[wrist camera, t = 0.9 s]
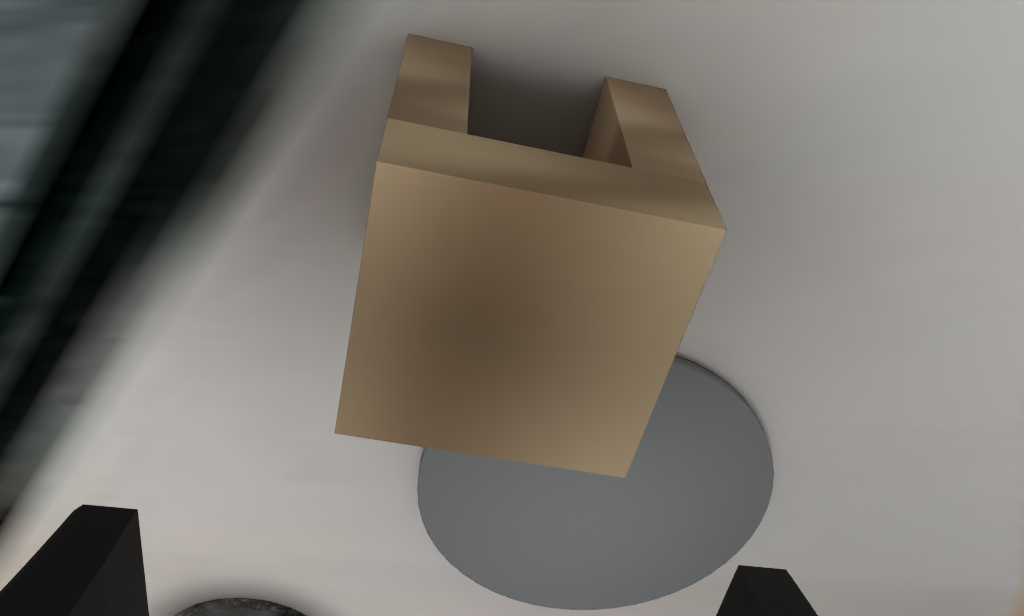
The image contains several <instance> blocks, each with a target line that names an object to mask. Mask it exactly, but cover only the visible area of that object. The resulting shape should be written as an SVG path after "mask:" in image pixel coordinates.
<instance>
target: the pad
mask: <svg viewBox="0 0 1024 616" xmlns="http://www.w3.org/2000/svg"><path fill="white" fill-rule="evenodd" d="M773 475H774V471H773V462H772V455H771V452H770V448H769V445H768V442H767V438H766V436H765V433H764V430H763V428H762V426H761V424H760V422H759V420H758V418H757V416H756V414H755V412H754V411H753V410H752V409H751V407H750V406H749V405H748V403H747V402H746V401H745V399H744V398H743V397H742V396H741V395H740V394H739V393H738V392H737V391H736V390H735V389H734V388H733V387H731V386H730V385H729V384H728V383H727V382H725V381H724V380H722V379H721V378H719V377H718V376H717V375H715V374H714V373H712V372H711V371H709V370H707V369H705V368H703V367H701V366H699V365H697V364H695V363H693V362H691V361H688V360H685V359H682V358H680V357H677V356H675V357H674V360H673V362H672V365H671V367H670V370H669V372H668V374H667V377H666V379H665V382H664V384H663V387H662V389H661V392H660V394H659V396H658V399H657V401H656V404H655V406H654V409H653V411H652V413H651V416H650V418H649V421H648V423H647V426H646V428H645V431H644V433H643V435H642V438H641V440H640V443H639V445H638V448H637V450H636V453H635V455H634V457H633V460H632V462H631V465H630V467H629V470H628V472H627V474H626V477H625V478H622V477H615V476H609V475H602V474H596V473H589V472H583V471H576V470H570V469H563V468H557V467H550V466H544V465H537V464H531V463H524V462H518V461H511V460H505V459H498V458H492V457H485V456H479V455H472V454H466V453H459V452H453V451H446V450H440V449H433V448H427V447H425V448H424V451H423V454H422V457H421V462H420V470H419V477H418V505H419V509H420V513H421V518H422V521H423V523H424V526H425V528H426V530H427V533H428V535H429V536H430V538H431V540H432V541H433V543H434V544H435V546H436V547H437V549H438V550H439V551H440V552H441V554H442V555H443V556H444V557H445V558H446V559H447V560H448V561H449V562H450V563H451V564H452V565H453V566H454V567H455V568H457V569H458V570H459V571H460V572H461V573H462V574H464V575H465V576H467V577H468V578H470V579H471V580H473V581H474V582H476V583H478V584H479V585H481V586H483V587H485V588H487V589H489V590H491V591H493V592H495V593H498V594H501V595H503V596H506V597H509V598H511V599H514V600H518V601H522V602H525V603H529V604H533V605H539V606H544V607H550V608H560V609H571V610H595V609H607V608H617V607H623V606H629V605H635V604H639V603H642V602H646V601H650V600H654V599H657V598H660V597H663V596H666V595H669V594H672V593H674V592H677V591H679V590H681V589H683V588H685V587H688V586H690V585H692V584H694V583H696V582H697V581H699V580H701V579H703V578H704V577H706V576H708V575H710V574H711V573H712V572H714V571H715V570H716V569H718V568H719V567H721V566H722V565H723V564H725V563H726V562H727V561H728V560H729V559H730V558H732V557H733V556H734V555H735V554H736V553H737V552H738V551H739V550H740V549H741V548H742V547H743V546H744V544H745V543H746V542H747V541H748V540H749V539H750V537H751V536H752V535H753V533H754V532H755V530H756V528H757V527H758V525H759V524H760V522H761V520H762V518H763V516H764V514H765V511H766V509H767V507H768V504H769V500H770V496H771V493H772V487H773Z"/></svg>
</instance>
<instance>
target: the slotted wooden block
mask: <svg viewBox="0 0 1024 616" xmlns="http://www.w3.org/2000/svg"><path fill="white" fill-rule="evenodd" d="M471 59H472V48H471V47H467V46H462V45H458V44H453V43H448V42H444V41H439V40H435V39H430V38H425V37H421V36H416V35H412V34H408V38H407V42H406V46H405V50H404V54H403V58H402V62H401V66H400V70H399V74H398V78H397V82H396V86H395V90H394V94H393V98H392V102H391V106H390V110H389V114H388V118H387V122H386V126H385V130H384V134H383V138H382V142H381V146H380V151H379V155H378V159H377V163H376V170H375V176H374V183H373V189H372V196H371V202H370V208H369V215H368V221H367V228H366V234H365V241H364V247H363V253H362V260H361V266H360V273H359V279H358V286H357V292H356V298H355V305H354V311H353V318H352V324H351V331H350V337H349V343H348V350H347V356H346V363H345V369H344V376H343V382H342V389H341V395H340V401H339V408H338V414H337V421H336V427H335V433H336V434H342V435H349V436H355V437H362V438H368V439H375V440H381V441H388V442H394V443H401V444H407V445H414V446H420V447H427V448H433V449H440V450H446V451H453V452H459V453H466V454H472V455H479V456H485V457H492V458H498V459H505V460H511V461H518V462H524V463H531V464H537V465H544V466H550V467H557V468H563V469H570V470H576V471H583V472H589V473H596V474H602V475H609V476H615V477H622V478H625V477H626V474H627V472H628V470H629V467H630V465H631V462H632V460H633V457H634V455H635V453H636V450H637V448H638V445H639V443H640V440H641V438H642V435H643V433H644V431H645V428H646V426H647V423H648V421H649V418H650V416H651V413H652V411H653V409H654V406H655V404H656V401H657V399H658V396H659V394H660V392H661V389H662V387H663V384H664V382H665V379H666V377H667V374H668V372H669V370H670V367H671V365H672V362H673V360H674V357H675V355H676V353H677V350H678V348H679V345H680V343H681V340H682V338H683V335H684V333H685V331H686V328H687V326H688V323H689V321H690V318H691V316H692V313H693V311H694V309H695V306H696V304H697V301H698V299H699V296H700V294H701V292H702V289H703V287H704V284H705V282H706V279H707V277H708V274H709V272H710V270H711V267H712V265H713V262H714V260H715V257H716V255H717V252H718V250H719V248H720V245H721V243H722V240H723V238H724V235H725V233H726V231H727V230H726V227H725V225H724V223H723V220H722V218H721V216H720V213H719V211H718V209H717V207H716V204H715V202H714V200H713V197H712V195H711V193H710V190H709V188H708V186H707V184H706V181H705V179H704V177H703V174H702V172H701V170H700V167H699V165H698V163H697V161H696V158H695V156H694V154H693V151H692V149H691V147H690V144H689V142H688V140H687V137H686V135H685V133H684V131H683V128H682V126H681V124H680V121H679V119H678V117H677V114H676V112H675V110H674V108H673V105H672V103H671V101H670V98H669V96H668V94H667V91H666V90H665V89H660V88H656V87H651V86H646V85H642V84H637V83H633V82H628V81H623V80H619V79H614V78H610V77H606V78H605V81H604V85H603V88H602V92H601V95H600V99H599V102H598V105H597V109H596V112H595V116H594V119H593V122H592V126H591V129H590V133H589V136H588V139H587V143H586V146H585V150H584V153H583V157H577V156H572V155H567V154H562V153H557V152H552V151H548V150H543V149H538V148H533V147H528V146H523V145H518V144H513V143H508V142H503V141H498V140H494V139H489V138H484V137H479V136H474V135H469V134H467V126H468V109H469V92H470V75H471Z"/></svg>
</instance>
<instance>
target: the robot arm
mask: <svg viewBox="0 0 1024 616" xmlns="http://www.w3.org/2000/svg"><path fill="white" fill-rule="evenodd" d="M0 616H149V611H148V602H147V593H146V584H145V574H144V565H143V556H142V547H141V537H140V528H139V519H138V510H137V509H127V508H116V507H105V506H94V505H82V506H80V507H78V508H77V509H75V510H74V511H73V512H72V513H71V514H70V516H69V517H68V518H67V519H66V520H65V521H64V522H63V523H62V525H61V526H60V527H59V528H58V529H57V530H56V531H55V532H54V534H53V535H52V536H51V537H50V538H49V539H48V540H47V541H46V543H45V544H44V545H43V546H42V547H41V548H40V549H39V550H38V551H37V552H36V554H35V555H34V556H33V557H32V558H31V559H30V560H29V561H28V562H27V563H26V565H25V566H24V567H23V568H22V569H21V570H20V571H19V572H18V573H17V574H16V575H15V576H14V578H13V579H12V580H11V581H10V582H9V583H8V584H7V585H6V586H5V587H4V588H3V589H2V590H1V591H0ZM716 616H818V615H817V614H816V612H815V611H814V609H813V608H812V606H811V605H810V603H809V602H808V600H807V599H806V598H805V596H804V595H803V593H802V592H801V590H800V589H799V587H798V586H797V584H796V583H795V582H794V580H793V579H792V577H791V576H790V575H789V573H788V572H787V570H784V569H774V568H763V567H752V566H741V565H738V568H737V570H736V572H735V574H734V577H733V579H732V581H731V583H730V586H729V588H728V590H727V592H726V595H725V597H724V599H723V601H722V604H721V606H720V608H719V610H718V613H717V615H716Z"/></svg>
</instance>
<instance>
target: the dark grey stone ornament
mask: <svg viewBox="0 0 1024 616" xmlns="http://www.w3.org/2000/svg"><path fill="white" fill-rule="evenodd" d="M176 616H305V615H303V614H301V613H299V612H297V611H295V610H293V609H291V608H288V607H285V606H281V605H278V604H275V603H271V602H268V601H260V600H252V599H244V598H239V599H218V600H214V601H209V602H205V603H201V604H196V605H194V606H192V607H190V608H188V609H186V610H184V611H182V612H180V613H178V614H177V615H176Z"/></svg>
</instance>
